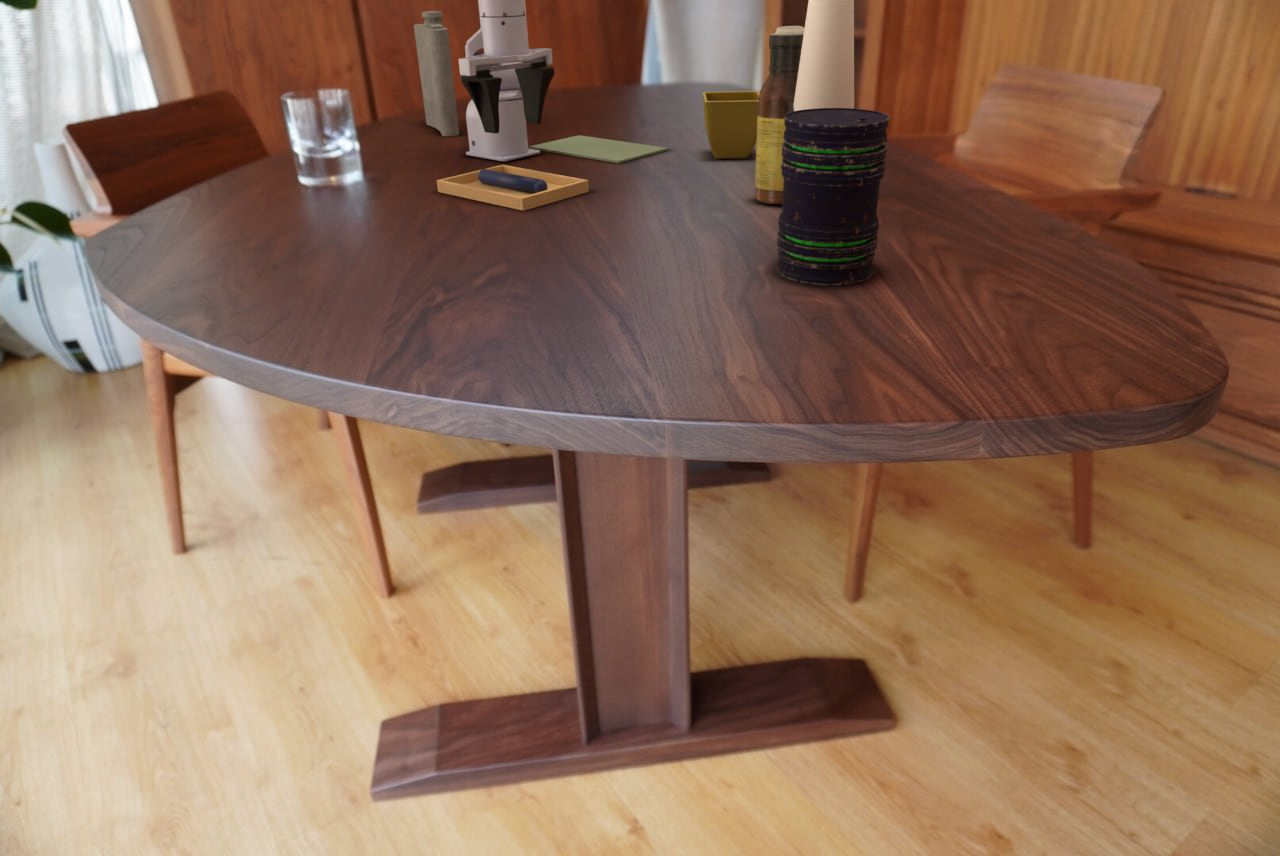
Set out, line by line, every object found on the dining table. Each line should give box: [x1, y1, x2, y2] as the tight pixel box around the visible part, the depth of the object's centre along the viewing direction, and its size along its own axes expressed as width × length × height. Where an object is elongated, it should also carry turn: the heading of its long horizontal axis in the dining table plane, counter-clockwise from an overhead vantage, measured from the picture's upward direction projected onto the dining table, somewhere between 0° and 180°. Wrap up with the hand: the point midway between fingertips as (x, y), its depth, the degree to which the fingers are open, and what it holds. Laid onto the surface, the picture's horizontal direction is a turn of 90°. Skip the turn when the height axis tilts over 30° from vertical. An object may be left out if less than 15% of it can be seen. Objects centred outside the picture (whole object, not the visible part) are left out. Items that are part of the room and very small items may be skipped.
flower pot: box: [702, 90, 760, 160], centre depth 140 cm, size 9×9×9 cm
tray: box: [436, 164, 590, 212], centre depth 124 cm, size 17×12×2 cm
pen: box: [478, 168, 548, 194], centre depth 124 cm, size 13×2×2 cm, turn 50°
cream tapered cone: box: [793, 0, 855, 111], centre depth 102 cm, size 7×7×24 cm
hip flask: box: [413, 10, 460, 137], centre depth 164 cm, size 16×4×20 cm, turn 24°
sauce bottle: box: [754, 32, 803, 206], centre depth 112 cm, size 7×6×20 cm
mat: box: [528, 134, 669, 164], centre depth 149 cm, size 20×12×1 cm, turn 50°
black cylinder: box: [776, 108, 890, 286], centre depth 88 cm, size 10×10×15 cm
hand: (513, 128), depth 120 cm, fingers open, 7 cm apart
